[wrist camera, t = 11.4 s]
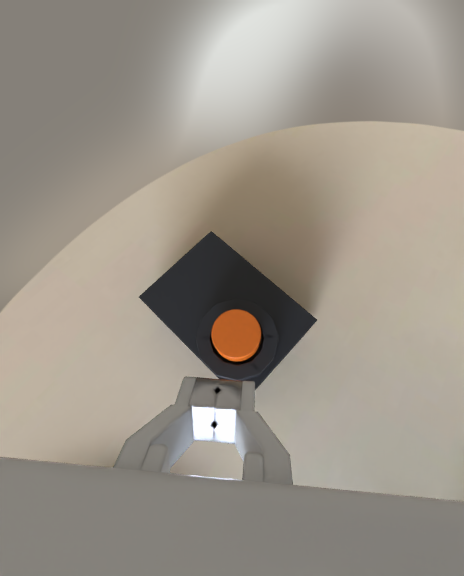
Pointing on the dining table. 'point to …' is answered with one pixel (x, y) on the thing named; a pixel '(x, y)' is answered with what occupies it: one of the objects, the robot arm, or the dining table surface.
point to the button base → (226, 308)
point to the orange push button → (236, 335)
